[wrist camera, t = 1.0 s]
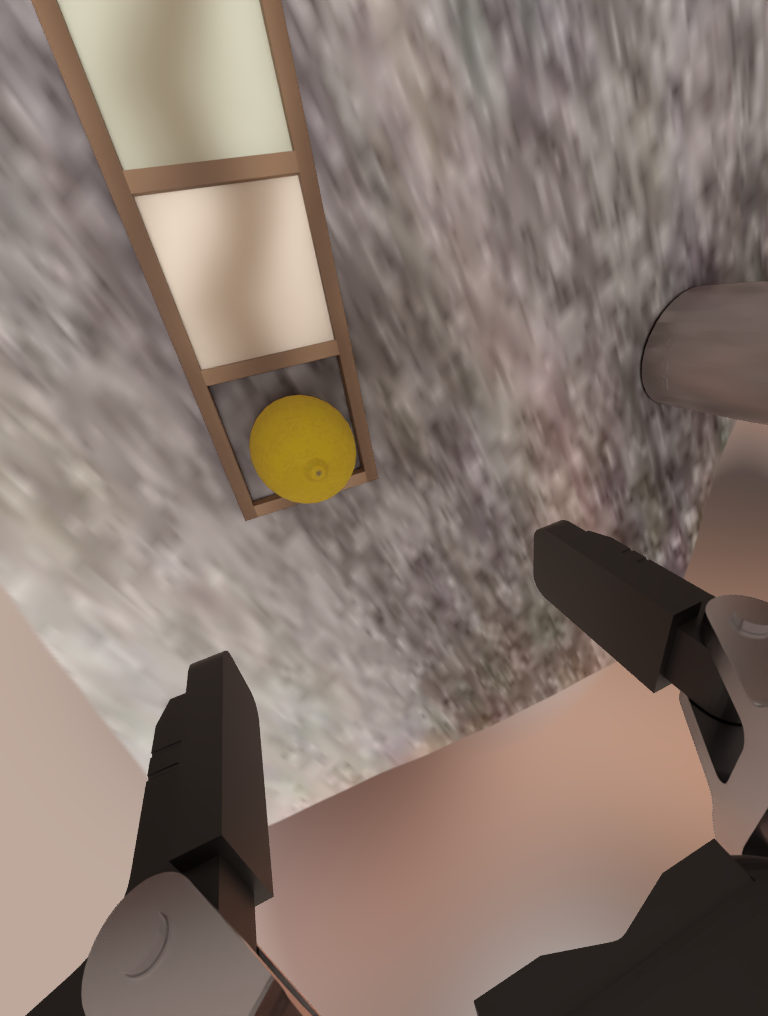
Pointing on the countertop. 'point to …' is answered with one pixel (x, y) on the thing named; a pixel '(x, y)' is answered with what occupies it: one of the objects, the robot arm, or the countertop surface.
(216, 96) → the board
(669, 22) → the countertop surface
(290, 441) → the lemon
